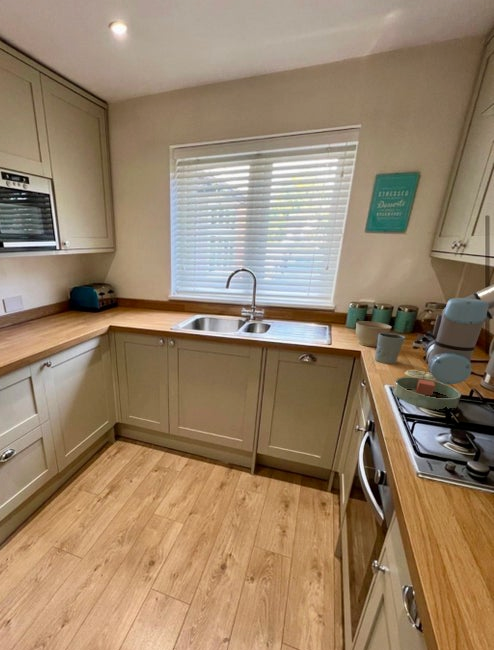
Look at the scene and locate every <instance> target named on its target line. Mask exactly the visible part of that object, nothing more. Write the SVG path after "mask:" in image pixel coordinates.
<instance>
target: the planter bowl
mask: <svg viewBox="0 0 494 650" xmlns="http://www.w3.org/2000/svg"><path fill="white" fill-rule="evenodd" d="M391 330H392V326H391V325H389V324H386V323H382V322H376V321H368V320H367V321H366V320H365V321H364V320H362V321H357V322H356V323H355V334H356V337H357V339H358V343H359V345H362V346H366V347H373V348H374V347H375V348H377V342H378V335H379V333H391Z"/></svg>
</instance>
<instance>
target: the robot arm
mask: <svg viewBox="0 0 494 650" xmlns="http://www.w3.org/2000/svg"><path fill="white" fill-rule="evenodd" d="M440 316H441V324H440V328H439V331H438V335H437V339H433V338H432V336H433V335H432V334H433V331H432V330H427V332H425V334H422V333H421V334H418V335H417V339H414V341H413V344H412V349H413V350H418V349H419V350H421V349H422V350H423V351H424V353H425V358H426V357H427V360H428V364H427V365H428V372H429V373H431V374H432V376H433V377H434V378H435V379H436V380H437V381H438V382H440V383H443V384H446V385H457V384H461V383H462V382H465V381H466V380H467V379H469V378H470V376H471V373H472V363H471V360H472V358H473V355H474V352H475V348H476V344H477V342H478V339H479V336H480V334H481V331H482V328H483V326H484V323H486V322H488V321H490V320H492V319H494V284H492V285H489V286H487V287H485V288H483V289H480V290H478V291H476V292H475V293H472V294H470V295H468V296H466V297H453V298H450V299H449V300H448V301H447V303H446V306H444V308H443V309H442V312H441V314H440Z"/></svg>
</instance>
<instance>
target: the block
mask: <svg viewBox="0 0 494 650" xmlns="http://www.w3.org/2000/svg"><path fill="white" fill-rule="evenodd" d="M434 388H435V384H434V382H431V381H426V380H421V379H419V381H418V384H417V387H416V393H418V394H421V395H432V394H433V391H434Z"/></svg>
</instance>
